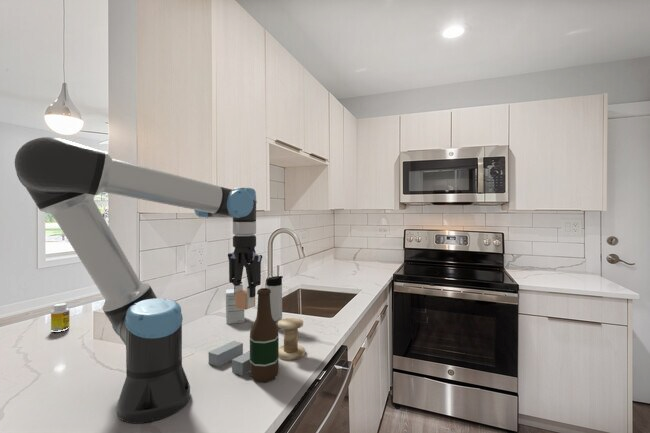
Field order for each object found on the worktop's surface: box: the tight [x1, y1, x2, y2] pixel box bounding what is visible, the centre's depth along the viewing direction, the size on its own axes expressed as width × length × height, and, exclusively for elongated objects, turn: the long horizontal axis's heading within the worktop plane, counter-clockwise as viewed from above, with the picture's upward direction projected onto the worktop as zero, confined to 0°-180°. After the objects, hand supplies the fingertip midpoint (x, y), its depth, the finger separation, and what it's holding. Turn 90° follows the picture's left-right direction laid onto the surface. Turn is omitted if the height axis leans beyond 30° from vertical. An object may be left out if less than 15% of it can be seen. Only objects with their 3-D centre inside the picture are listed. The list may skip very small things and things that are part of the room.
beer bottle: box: [249, 287, 280, 384], centre depth 89 cm, size 8×8×24 cm
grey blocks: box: [208, 340, 250, 376], centre depth 97 cm, size 10×14×4 cm
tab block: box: [235, 289, 256, 311], centre depth 107 cm, size 4×4×5 cm
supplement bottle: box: [50, 302, 70, 331], centre depth 125 cm, size 6×6×10 cm
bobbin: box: [278, 317, 306, 361], centre depth 103 cm, size 9×9×10 cm
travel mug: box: [265, 275, 284, 329], centre depth 129 cm, size 6×7×20 cm
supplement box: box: [225, 288, 246, 325], centre depth 136 cm, size 7×7×13 cm
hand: (244, 305), depth 107 cm, fingers closed on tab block, 4 cm apart
